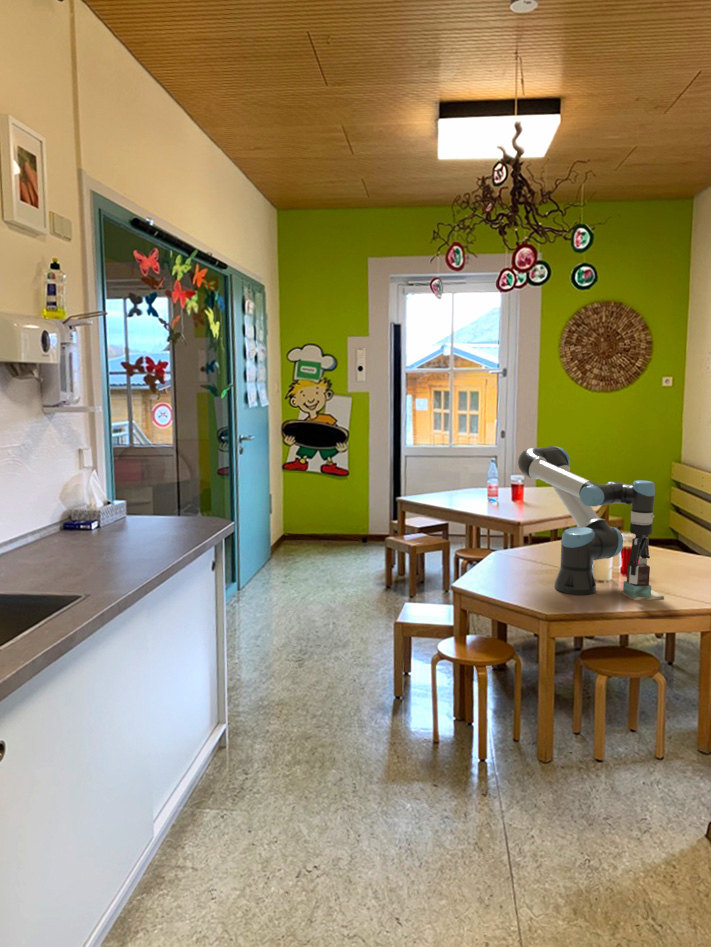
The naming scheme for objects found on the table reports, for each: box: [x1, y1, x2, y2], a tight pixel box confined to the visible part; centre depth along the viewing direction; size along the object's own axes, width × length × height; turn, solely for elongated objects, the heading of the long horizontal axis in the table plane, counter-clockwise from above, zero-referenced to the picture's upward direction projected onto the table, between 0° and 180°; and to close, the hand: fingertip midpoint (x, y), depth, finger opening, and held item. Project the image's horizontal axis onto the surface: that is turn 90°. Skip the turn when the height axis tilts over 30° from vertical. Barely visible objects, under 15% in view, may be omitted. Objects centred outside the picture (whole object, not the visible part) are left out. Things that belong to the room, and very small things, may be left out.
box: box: [626, 562, 651, 586], centre depth 264 cm, size 6×6×7 cm
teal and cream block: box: [621, 580, 665, 601], centre depth 265 cm, size 12×8×5 cm, turn 100°
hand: (637, 579), depth 264 cm, fingers open, 13 cm apart
